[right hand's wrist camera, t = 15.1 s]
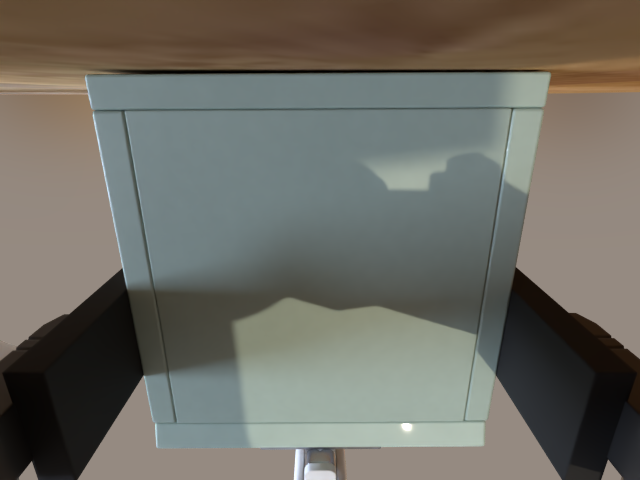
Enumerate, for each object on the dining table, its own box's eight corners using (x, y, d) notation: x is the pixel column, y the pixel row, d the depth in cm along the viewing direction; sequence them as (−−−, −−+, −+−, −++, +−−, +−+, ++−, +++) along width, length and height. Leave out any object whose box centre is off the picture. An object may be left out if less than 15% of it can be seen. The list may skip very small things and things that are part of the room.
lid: (396, 306, 25) (395, 426, 26) (242, 307, 25) (245, 427, 26) (486, 420, 12) (479, 666, 12) (153, 422, 12) (164, 668, 12)
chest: (413, 86, 20) (401, 255, 24) (222, 87, 20) (237, 256, 24) (553, 71, 8) (488, 421, 12) (82, 74, 8) (152, 423, 12)
